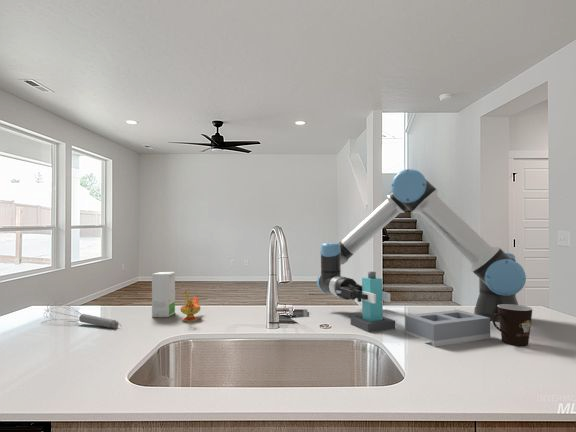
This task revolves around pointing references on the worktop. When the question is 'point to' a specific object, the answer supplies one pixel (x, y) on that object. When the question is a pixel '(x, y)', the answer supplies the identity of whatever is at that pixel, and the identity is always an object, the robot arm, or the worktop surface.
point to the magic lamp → (190, 307)
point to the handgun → (296, 314)
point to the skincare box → (163, 294)
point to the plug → (375, 309)
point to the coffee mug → (514, 324)
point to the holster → (373, 324)
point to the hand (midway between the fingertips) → (382, 298)
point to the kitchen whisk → (90, 319)
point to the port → (448, 327)
